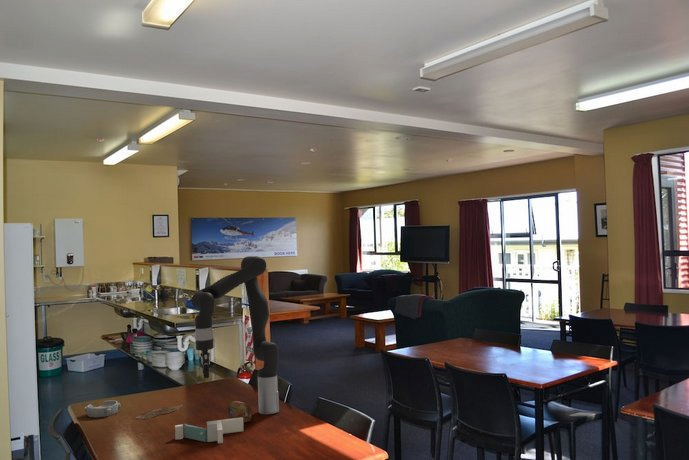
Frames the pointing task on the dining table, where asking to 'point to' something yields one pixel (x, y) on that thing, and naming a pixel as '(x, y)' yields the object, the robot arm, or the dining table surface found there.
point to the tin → (240, 410)
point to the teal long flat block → (195, 432)
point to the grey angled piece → (222, 428)
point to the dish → (103, 409)
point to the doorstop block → (212, 431)
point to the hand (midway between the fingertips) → (205, 375)
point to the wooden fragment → (158, 412)
